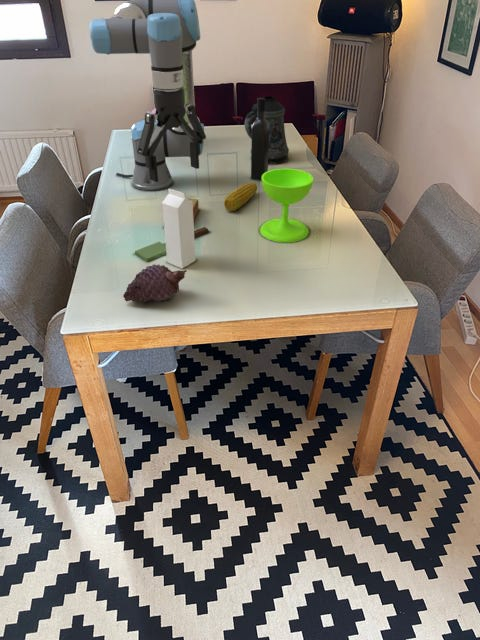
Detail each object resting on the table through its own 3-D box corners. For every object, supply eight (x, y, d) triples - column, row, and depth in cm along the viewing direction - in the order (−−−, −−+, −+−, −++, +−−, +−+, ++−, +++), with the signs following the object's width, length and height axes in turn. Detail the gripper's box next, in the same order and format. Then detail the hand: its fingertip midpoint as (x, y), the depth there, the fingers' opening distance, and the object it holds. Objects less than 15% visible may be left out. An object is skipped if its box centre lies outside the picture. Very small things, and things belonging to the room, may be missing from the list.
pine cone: (130, 316, 130) (113, 280, 128) (132, 312, 139) (117, 278, 138) (195, 289, 131) (179, 253, 129) (192, 287, 141) (178, 253, 139)
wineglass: (275, 246, 160) (278, 191, 149) (251, 226, 171) (252, 173, 160) (318, 235, 166) (323, 181, 155) (292, 216, 177) (295, 165, 166)
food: (236, 215, 178) (236, 198, 174) (221, 212, 180) (221, 196, 176) (260, 193, 193) (260, 177, 190) (246, 190, 195) (246, 175, 192)
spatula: (147, 261, 152) (146, 257, 151) (135, 253, 156) (134, 249, 155) (212, 234, 166) (212, 230, 165) (200, 228, 170) (200, 224, 169)
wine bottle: (250, 179, 205) (251, 99, 187) (255, 174, 209) (256, 95, 191) (263, 181, 203) (265, 100, 185) (268, 176, 207) (271, 97, 190)
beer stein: (294, 156, 227) (298, 96, 212) (273, 169, 213) (275, 106, 199) (262, 149, 234) (264, 90, 219) (239, 162, 221) (239, 100, 206)
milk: (180, 254, 156) (175, 184, 143) (196, 260, 153) (192, 189, 140) (166, 262, 152) (160, 191, 139) (182, 269, 149) (177, 196, 136)
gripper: (133, 100, 115) (144, 190, 128) (217, 82, 129) (219, 165, 141) (115, 93, 119) (127, 181, 132) (198, 77, 133) (202, 158, 146)
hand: (175, 173), depth 137 cm, fingers open, 13 cm apart
